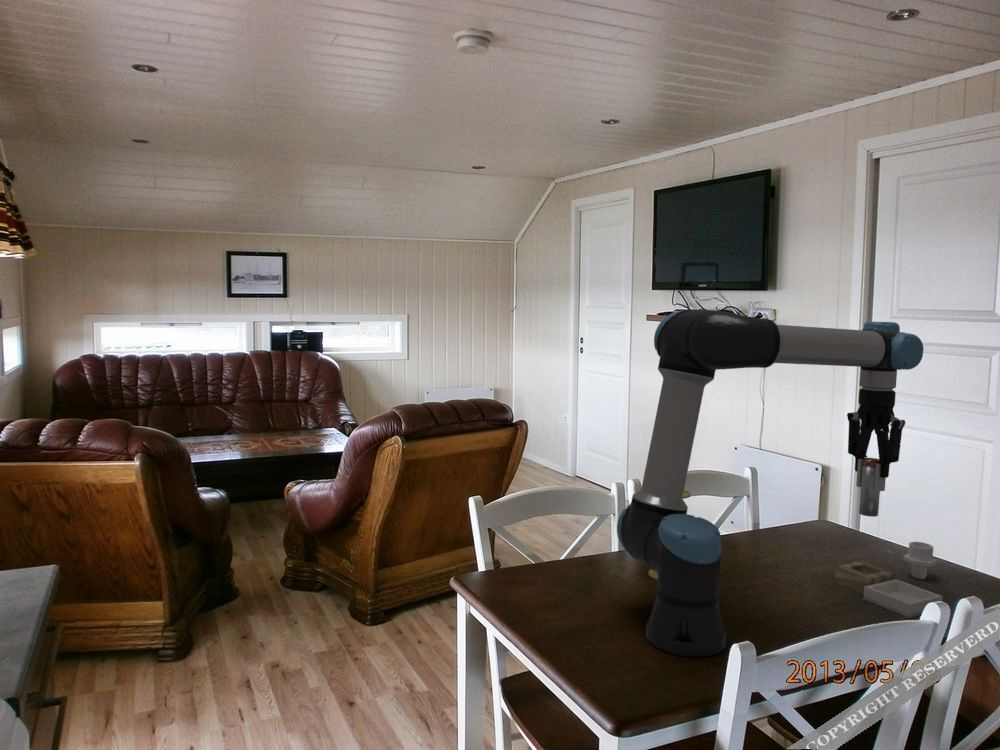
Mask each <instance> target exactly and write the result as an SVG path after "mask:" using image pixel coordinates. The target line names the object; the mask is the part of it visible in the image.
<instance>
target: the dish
mask: <svg viewBox="0 0 1000 750" xmlns="http://www.w3.org/2000/svg"><path fill="white" fill-rule="evenodd" d="M943 599H944V597H943V595H940V594H938V593H935V592H932V591H930V590H926V589H925V588H922V587H919V586H916V585H913V584H911V583H907V582H906V581H902V580H900V579H896V578H895V580H891V581H886V582H882V583H878V584H873V585H869V586H864V594H863V600H864V601H866V602H869V603H871V604H873V605H875V606H879V607H880V608H883V609H886V610H889V611H891V612H893V613H895V614H897V615H900V616H903V617H905V618H907V619H911V618H916V617H919V616H921V615H920V614H921V612H922V610H923V608H924V607H925V605H926V604H927V603H929V602H933V601H942V602H943Z"/></svg>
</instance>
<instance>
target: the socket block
mask: <svg viewBox="0 0 1000 750" xmlns="http://www.w3.org/2000/svg"><path fill="white" fill-rule="evenodd" d="M834 575H835V576H834V583H835V584H838V585H841V586H843V587H846V588H848V589H850V590H853V591H856V592H858V593H860V594H863V595H864V586H869V585H873V584H878V583H882V582H886V581H891V580H895V579H896V572H894V571H891V570H888V569H885V568H883V567H880V566H877V565H874V564H871V563H869V562H865V561H863V560H859V561H853V562H849V563H843V564H840V565H839V564H838V565H835V572H834Z"/></svg>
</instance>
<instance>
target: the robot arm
mask: <svg viewBox="0 0 1000 750" xmlns="http://www.w3.org/2000/svg"><path fill="white" fill-rule="evenodd" d="M900 327H901V326H900V324H899V323H897V322H894V321H865V322H864V323H863V328H862V329H849V328H848V329H847V328H831V327H830V328H829V327H818V326H801V325H799V326H798V325H788V324H787V325H786V324H777V323H776V322H775V321H774V320H772V319H770V318H761V317H760V318H759V317H755V316H754V317H753V316H748V315H742V314H737V313H733V312H729V311H722V310H703V309H690V308H689V309H683V310H677V311H675V312H671V313H670V314H668V315H667V316H665V317H664V318H663V319H662V320H661V321H660V323H658V325H657V326H656V329H655V331H654V337H653V346H654V350H655V351H656V353H657V356H658V357H659V360H658V365H657V370H658V372H659V373H660V375H661V376H662V384H661V389H660V393H659V400H658V404H657V409H656V412H655V413H656V414H655V420H654V424H653V429H652V434H651V439H650V445H649V448H648V455H647V459H646V465H645V469H644V473H643V479H642V484H641V488H640V490H638V491H636V492H635V493H633V494H632V497H631V502H630V504H628V505H627V506H626V508H625V509H623V510H622V511H621V512H620V514H619V516H618V518H617V525H616V534H617V539H618V541H619V543H620V545H621V546H622V548H623V549H624V550H625V551H626V552H627V553H628V554H629V555H630V556H631V557H632V558H633V559H635V560H636V561H638V562H641V563H642V564H643V565H645V566H646V567H647V568H649V569H650V570H651V569H652V570H654V571H655V572H657V573H658V577H657V580H656V581H657V583H656V584H657V585H656V598H655V601H654V603H653V607H652V610H651V613H650V616H649V618H648V619H647V621H646V625H645V628H646V629H645V631H646V632H645V637H646V639H647V641H648V642H649V643H650V644H651V645H653V646H654V647H656V648H658V649H659V650H662V651H665V652H666V653H671V654H673V655H678V656H683V657H684V656H685V657H693V658H694V657H696V658H698V657H699V658H700V657H710V656H715V655H717V654H719V653H721V652H722V651H724V649H726V645H727V644H726V642H727V632H726V628H725V627H724V626H725V625H724V622H723V618H722V617H723V616H722V615H721V609H720V606H719V593H720V591H719V590H720V578H721V577H720V574H721V557H722V556H721V555H722V553H723V548H722V535H721V532H720V530H719V528H718V527H717V525H715V524H714V523H713V522H711V521H710V520H708V519H705V518H703V517H699V516H698V517H696V516H695V515H692V514H688V508H689V507H688V505H687V504H686V502H685V501H684V499H683V498H682V497H683V492H684V491H685V486H686V480H687V476H688V470H689V466H690V461H691V457H692V450H693V447H694V442H695V436H696V432H697V425H698V422H699V418H700V417H699V415H700V410H701V405H702V401H703V397H704V392H705V387H706V385H708V384H709V383H711V382H712V381H714V379H715V375H716V371H717V370H732V369H733V370H734V369H747V368H748V369H750V368H759V369H760V368H761V369H763V368H766V369H767V368H769V367H771V366H773V365H774V364H790V365H812V366H816V365H817V366H834V367H835V366H837V367H838V366H839V367H860V373H859V386H860V387H861V388H860V389H859V390H858V404H859V408H858V409H857V411H853V412H848V413H847V414H846V416H847V421H848V439H847V440H848V443H847V444H848V445H847V453H848V454H849V455H851V456H853V457H854V458H855V462H854V471H855V472H856V473H857V474H856V484H855V485H856V487H857V488H861V478H862V464H863V458H869V456H868V455H867V452H868V448H869V445H870V441H871V437H872V434H873V432H874V433H875V435H876V442H877V450H878V459H879V461H878V463H876V471H875V485H874V491H876V492H879V491H880V492H885V491H886V479H887V478H889V475H890V467H891V466H890V464H892V463H893V464H894V463H897V462H899V461H900V452H901V443H902V432H903V429H904V427H905V425H906V420H905V419H900V418H898V417H896V416H895V413H894V407H895V405H896V396H897V395H896V391H895V390H893V389H896V388H897V377H898V370H899V371H901V370H904V371H905V370H912V369H914V368H916V367H918V365H920V363H921V361H922V360H923V356H924V350H925V349H924V345H923V341H922V340H921V339H920V337H919V336H917V335H916V334H913V333H908V332H905V331H903V332H902V331H901V330H900V329H901V328H900ZM900 331H901V332H900Z"/></svg>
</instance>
